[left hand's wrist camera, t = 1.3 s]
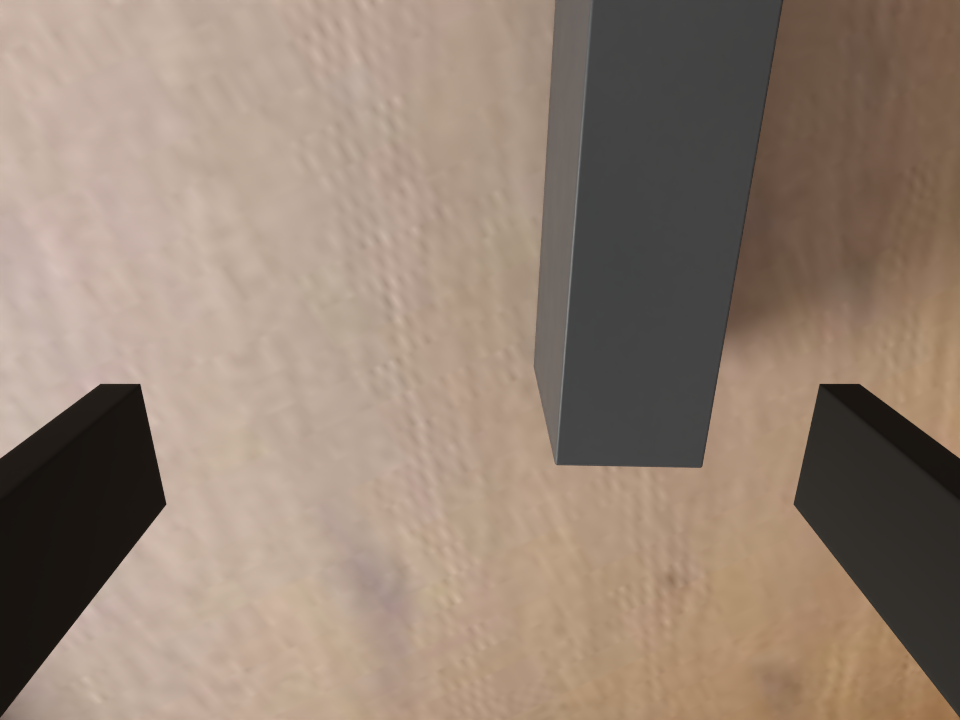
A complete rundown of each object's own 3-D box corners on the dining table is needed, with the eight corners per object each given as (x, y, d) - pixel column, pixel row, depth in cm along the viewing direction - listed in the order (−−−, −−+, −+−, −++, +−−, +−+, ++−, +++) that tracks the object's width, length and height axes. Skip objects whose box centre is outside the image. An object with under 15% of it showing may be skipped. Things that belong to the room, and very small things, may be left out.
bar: (640, 370, 30) (702, 468, 22) (533, 367, 30) (554, 466, 22) (734, -370, 20) (904, -686, 12) (577, -375, 20) (644, -697, 12)
